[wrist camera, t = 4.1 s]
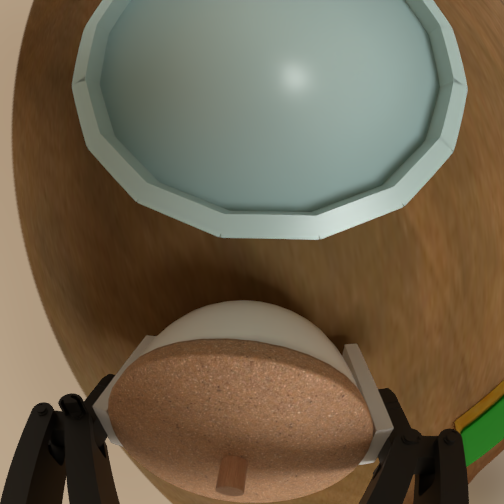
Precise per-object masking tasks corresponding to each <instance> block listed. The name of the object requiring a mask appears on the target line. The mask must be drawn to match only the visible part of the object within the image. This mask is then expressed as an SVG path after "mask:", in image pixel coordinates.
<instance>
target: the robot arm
mask: <svg viewBox="0 0 504 504" xmlns="http://www.w3.org/2000/svg"><path fill="white" fill-rule="evenodd" d="M155 337H156V336H150V335H146V336H145V338H144V339H143V340H142V341H141V343H140V344H139V345H138V347H137V348H136V349H135V350H134V352H133V353H132V354H131V356H130V357H129V358H128V360H127V361H126V362H125V363H124V365H123V366H122V367H121V369H120V370H119V371H118V373H117V374H116V375H113V374H108V375H107V376H105V377H104V378H102V379H101V381H100V382H99V383H98V386H96V387H95V388H94V390H93V391H92V392H91V393H90V395H89V396H88V397H87V398H86V400H85V401H83V399H82V398H81V397H80V396H79V395H77V394H67V395H65V396H63V397H62V398H61V399H60V400H59V403H58V404H59V406H60V408H61V409H62V411H63V412H62V411H54V409H53V407H52V406H51V405H50V404H49V403H39V404H37V405H36V406H34V408H33V409H32V411H31V414H30V416H29V418H28V421H27V423H26V426H25V428H24V430H23V433H22V435H21V438H20V440H19V443H18V446H17V448H16V451H15V454H14V457H13V460H12V463H11V466H10V469H9V472H8V476H7V479H6V483H5V486H4V490H3V494H2V498H1V502H0V504H62V499H63V492H64V485H65V480H66V477H67V487H68V495H69V502H70V504H120V503H119V500H118V496H117V492H116V488H115V484H114V480H113V476H112V471H111V466H110V461H109V456H108V450H107V445H106V443H105V440H106V438H107V436H108V438H109V440H110V441H111V443H113V444H116V445H119V446H122V447H123V445H122V444H121V443H120V441H119V440H118V438H117V437H116V435H115V432H114V430H113V428H112V425H111V422H110V418H109V413H108V399H109V396H110V393H111V390H112V387H113V386H114V385H115V383H116V382H117V380H118V379H119V378H120V376H121V375H122V373H123V372H124V371H125V370H126V368H127V367H128V366H129V365H130V364H132V363H133V362H134V361H135V360H136V359H137V358H138V357H139V356H140V354H141V353H142V352H143V350H144V349H145V348H146V347H147V346H148V344H149V343H150V342H151V341H152V340H153V339H154V338H155ZM342 357H343V359H344V360H345V362H346V364H347V365H348V367H349V369H350V371H351V373H352V375H353V377H354V380H355V382H356V384H357V387H358V389H359V391H360V393H361V394H362V396H363V398H364V400H365V401H366V403H367V406H368V408H369V411H370V415H371V419H372V423H373V439H372V441H371V444H370V447H369V450H368V452H367V453H366V455H365V456H364V458H363V459H362V461H361V462H360V463H359V465H362V464H368V463H374V462H375V460H376V458H377V457H378V458H379V461H380V463H379V465H378V466H377V468H376V469H375V471H374V472H373V474H374V475H373V477H372V479H371V481H370V483H369V485H368V487H367V489H366V491H365V493H364V495H363V497H362V499H361V500H360V502H359V504H402V503H403V501H404V498H405V496H406V493H407V490H408V488H409V485H410V482H411V479H412V476H413V474H415V488H414V501H413V504H469V499H468V498H469V497H468V480H467V469H466V461H465V453H464V446H463V440H462V436H461V434H460V433H459V432H458V431H456V430H454V429H445V430H443V431H442V432H441V433H440V434H439V436H422V435H421V433H419V432H418V431H417V430H415V429H411V427H410V425H409V423H408V420H407V418H406V416H405V414H404V412H403V410H402V408H401V406H400V404H399V402H398V399H397V397H396V395H395V394H394V393H393V392H392V391H391V390H390V389H389V388H385V389H377V387H376V384H375V382H374V380H373V378H372V375H371V373H370V371H369V369H368V366H367V364H366V362H365V360H364V358H363V356H362V353H361V351H360V349H359V347H358V345H357V344H345V345H344V350H343V355H342Z"/></svg>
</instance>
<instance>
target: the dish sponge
mask: <svg viewBox="0 0 504 504" xmlns="http://www.w3.org/2000/svg"><path fill="white" fill-rule="evenodd" d="M455 427H456V431H458V432H459V433H460V434H461V436H462V440H463V446H464V453H465V461H466V467H467V466H469V465H470V464H471V463H473V462H474V461H476V460H477V459H478V458H480V457H481V456H482V455H484V454H485V453H486V452H488V451H489V450H490V449H491V448H493V447H494V446H495V445H496V444H498V443H499V442H500V441H501V440H502V439H503V438H504V380H503V381H502V382H501V383H500V384H499V385H498V386H497V387H496V388H495V389H494V390H492V391H491V392H490V393H489V394H488V395H487V396H486V397H484V398H483V399H482V400H481V401H480V402H479V403H477V404H476V405H475V406H474V407H472V408H471V409H470V410H469V411H467V412H466V413H465V414H463V415H462V416H461V417H459V418H458V419H457V420H456V421H455Z"/></svg>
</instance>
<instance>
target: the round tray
mask: <svg viewBox="0 0 504 504" xmlns="http://www.w3.org/2000/svg"><path fill="white" fill-rule="evenodd" d="M467 90H468V89H467V83H466V78H465V73H464V68H463V64H462V60H461V56H460V52H459V49H458V45H457V42H456V38H455V35H454V32H453V29H452V27H451V25H450V24H449V22H448V21H447V19H446V18H445V16H444V15H443V14H442V12H441V11H440V9H439V8H438V7H437V5H436V4H435V2H434V1H433V0H102V2H101V3H100V5H99V6H98V7H97V9H96V10H95V12H94V13H93V15H92V16H91V18H90V20H89V21H88V23H87V24H86V26H85V28H84V31H83V35H82V38H81V42H80V46H79V50H78V55H77V59H76V64H75V69H74V74H73V80H72V91H73V96H74V100H75V105H76V109H77V113H78V117H79V121H80V125H81V128H82V132H83V136H84V139H85V143H86V146H87V148H88V149H89V150H90V152H91V153H92V154H93V155H94V156H95V157H96V158H97V160H98V161H99V162H100V163H101V164H102V165H103V166H104V167H105V169H106V170H107V171H108V172H109V173H110V174H111V175H112V176H113V178H114V179H115V180H116V181H117V182H118V183H119V184H120V185H121V186H122V187H123V188H124V190H125V191H126V192H127V193H128V194H129V195H130V196H131V197H132V198H133V199H134V200H135V201H136V202H137V203H139V204H141V205H144V206H146V207H148V208H151V209H153V210H156V211H158V212H160V213H163V214H165V215H167V216H170V217H172V218H174V219H177V220H179V221H182V222H184V223H186V224H189V225H191V226H193V227H196V228H198V229H200V230H203V231H205V232H208V233H210V234H212V235H215V236H217V237H220V236H221V238H266V239H312V240H319V238H320V239H323V238H325V237H328V236H331V235H333V234H336V233H338V232H341V231H344V230H346V229H349V228H351V227H354V226H356V225H359V224H362V223H364V222H367V221H369V220H372V219H374V218H377V217H379V216H382V215H384V214H387V213H390V212H392V211H395V210H397V209H400V208H402V207H403V206H405V205H406V204H407V203H408V202H409V201H410V200H411V199H412V198H413V197H414V196H415V195H416V193H417V192H418V191H419V190H420V189H421V188H422V187H423V186H424V185H425V184H426V183H427V181H428V180H429V179H430V178H431V177H432V176H433V175H434V174H435V173H436V171H437V170H438V169H439V168H440V167H441V166H442V165H443V163H444V162H445V161H446V160H447V159H448V158H449V156H450V155H451V154H452V153H453V151H454V148H455V145H456V141H457V137H458V133H459V129H460V125H461V121H462V116H463V111H464V106H465V101H466V96H467Z"/></svg>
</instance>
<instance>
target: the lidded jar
mask: <svg viewBox="0 0 504 504" xmlns="http://www.w3.org/2000/svg"><path fill="white" fill-rule="evenodd" d="M108 413H109V418H110V422H111V425H112V428H113V430H114V432H115V435H116V437H117V438H118V440H119V441H120V443H121V444H122V445H123V447H124V448H125V449H126V450H127V451H128V453H129V454H130V455H131V456H132V457H133V458H134V459H135V460H136V461H138V462H139V463H140V464H141V465H142V466H144V467H145V468H146V469H148V470H149V471H150V472H152V473H153V474H155V475H156V476H158V477H160V478H161V479H163V480H165V481H167V482H169V483H171V484H173V485H175V486H177V487H179V488H182V489H184V490H187V491H190V492H193V493H196V494H199V495H202V496H206V497H209V498H214V499H220V500H225V501H233V502H243V503H265V502H277V501H284V500H290V499H295V498H299V497H303V496H306V495H309V494H312V493H315V492H318V491H320V490H322V489H325V488H327V487H329V486H331V485H333V484H335V483H336V482H338V481H340V480H341V479H343V478H344V477H345V476H347V475H348V474H349V473H351V472H352V471H353V470H354V469H355V468H356V467H357V466H358V464H359V463H360V462H361V461H362V459H363V458H364V456H365V455H366V453H367V452H368V450H369V447H370V444H371V441H372V439H373V423H372V419H371V415H370V411H369V408H368V406H367V403H366V401H365V400H364V398H363V396H362V394H361V393H360V391H359V389H358V387H357V384H356V382H355V380H354V377H353V375H352V373H351V371H350V369H349V367H348V365H347V364H346V362H345V360H344V359H343V357H342V355H341V354H340V352H339V351H338V349H337V347H336V346H335V345H334V344H333V343H332V342H331V341H330V340H329V339H328V338H327V336H326V335H325V334H324V333H323V332H322V331H321V330H320V329H319V328H318V327H316V326H315V325H314V324H313V323H311V322H310V321H309V320H307V319H305V318H304V317H302V316H300V315H298V314H296V313H294V312H292V311H291V310H288V309H286V308H283V307H280V306H277V305H274V304H270V303H265V302H261V301H250V300H236V301H226V302H221V303H215V304H211V305H207V306H204V307H201V308H199V309H196V310H193V311H192V312H190V313H188V314H186V315H184V316H183V317H181V318H179V319H178V320H176V321H175V322H173V323H172V324H170V325H169V326H168V327H167V328H166V329H164V330H163V331H162V332H161V333H160V334H159V335H158V336H156V337H155V338H154V339H153V340H152V341H151V342H150V343H149V344H148V346H147V347H146V348H145V349H144V350H143V352H142V353H141V354H140V356H139V357H138V358H137V359H136V360H135V361H134V362H133V363H132V364H130V365H129V366H128V367H127V368H126V370H125V371H124V372H123V373H122V375H121V376H120V378H119V379H118V380H117V382H116V383H115V385H114V386H113V387H112V390H111V393H110V396H109V399H108Z"/></svg>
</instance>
